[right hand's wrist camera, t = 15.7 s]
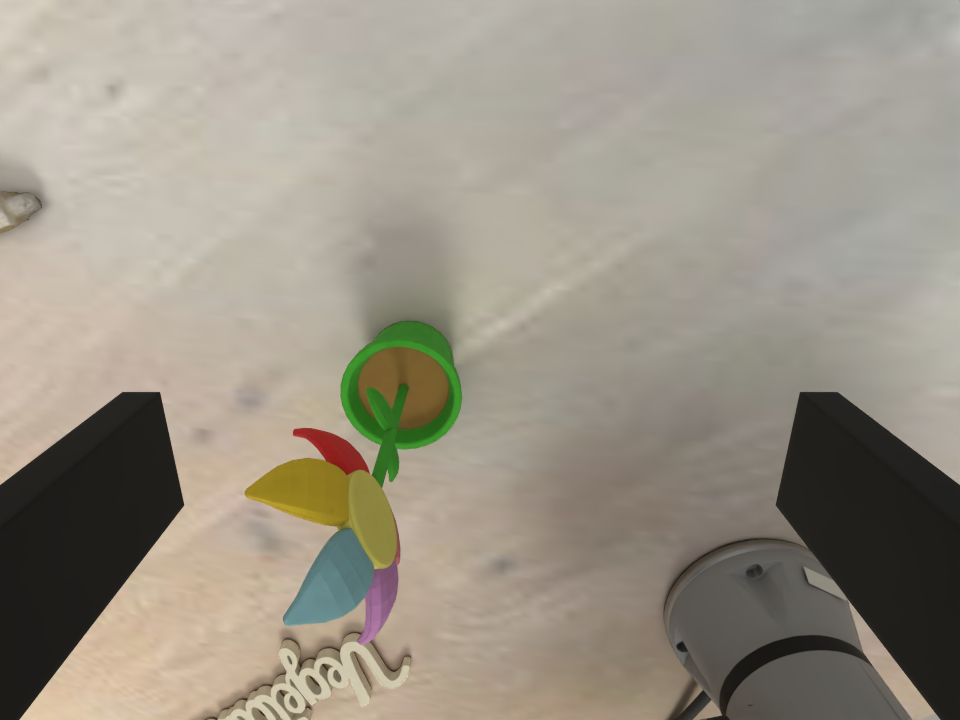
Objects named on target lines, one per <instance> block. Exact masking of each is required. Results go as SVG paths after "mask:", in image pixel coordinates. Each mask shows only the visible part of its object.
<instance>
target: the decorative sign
mask: <svg viewBox="0 0 960 720" xmlns="http://www.w3.org/2000/svg"><path fill="white" fill-rule="evenodd" d="M360 635H361V634H357V633H352V634H349V635H347V636H346V637H345V638H344V640H343V642H342V646H341V650H340V652H338V651H337V650H334V649H331V648H327V649H323V650H321V651H320V652H319V653H318V655H317V658H316V661H315V660H312V659H308V660H306V661H305V662H304V663H303V664H302V667H300V665H299V664H298V661H299V658H300V649H299V647H298V645H297V644H296V643H295V642H293V641H291V640H284V641H283V643H282V645H281V648H280V651H279V658H280V660H281V662H282V664H283V666H284V668H285V670H286V671H287V673H286V674H284V675H280V676H278V677H277V678H276V679H275V681H274V683H273V686H272V687H270V686H262V687H260V688H259V689H258V690H257V691H253V692H251V693H250V695H249V697H248V700H247V701H246V700H239V701H237V702H236V704H235V705H234V706H233V707H230V709H226V710H222V711H221V712H220V714H219V717H218V719H217V720H279V718H280V717H281V718H282V719H283V720H311V716H312V711H311V710H310V709H309V708H305V707H306V703H307V701H308V702H309V703H310V704H311V705H313V704H315V703H317V702H318V699H326V698H328V697H329V696H330V695H331V691H332V687H336V688H345V687H347V685H348V683H349V680H350V682H351V685H352V687H353V689H354V692H355V694H356V696H357V698H358V700H359V704H360V707H365V706H367V705H368V704H369V702H370V697H371V692H372V691H371V687H370V685H369V683H368V681H367V679H366V677H365V675H364V673H363V672H362V670H361V668H360V665H359V663H358V661H357V659H356V656H355V653H354V651H355V652H357V653H359V654H360V655H361V656H362V658H363V659H364V660H365V662H366V663H367V665H368V666H369V668H370V670H371V671H372V673H373V674H374V676H375V677H376V679H377V680H378V681H379V683H380V684H381V685H383V686H384V687H386V688H389V689H394V688H397V687H399V686H400V685H401V684H402V683H403V682H404V681H405V680H406V678H407V676H408V674H409V671H410V665H411V658H410V657H404V659H403V662H402V665H401V667H400V669H399V670H398V671H396V672H392V671H390V670H389V669H388V668H387V667H386V666H385V664H384V662H383V661H382V659H381V657H380V656H379V654H378V653H377V651H376V650H375V648H374V647H373V645H372V644H371V642H368V643H366V644H363V645H360V644H359V643H358V642H357V639H358V638H359V636H360ZM323 663H326V664H329V665H330V666H329V669H328V671H327V670H326V669H325V668H324V666H322V664H323ZM310 676H312V677H313V678H314V679H315V680H316V681H317V682H318V683H319V685H320V686H318V685H316V684H315V683H314V682H313V681H312V679H311V677H310ZM279 690H285V691H286V694H285V697H284V696H283V695H282V694H281V693H280V691H279ZM257 708H258V709H259V710H261V711H262V712H263V713H264V714H265V716H266V717H264V716H263V715H262V714H261V713H260V711H259V710H258V709H257ZM207 720H215V719H207Z"/></svg>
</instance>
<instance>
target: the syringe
mask: <svg viewBox="0 0 960 720" xmlns="http://www.w3.org/2000/svg"><path fill="white" fill-rule="evenodd" d="M41 207H42V204H41V201H40V200H39V199H38V198H37V197H36V196H34V195H33V194H31V193H22V194H19V193H17V192H5V191H0V233H2V232H4V231H8V230H10V229H12V228H14V227H15V226H17V225H19V224H20V223H22V222H23V221H26V220H29V219H28V218H29V216H30V215H31V214H32V213H34V212H36V211H38V210H39V209H41Z"/></svg>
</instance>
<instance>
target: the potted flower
mask: <svg viewBox="0 0 960 720" xmlns="http://www.w3.org/2000/svg"><path fill="white" fill-rule="evenodd" d="M341 400H342V405H343V409H344V411H345V413H346V415H347V418H348V419H349V420H350V422H351V423H352V425H353V426H354V427H355V428H356V429H357V430H358V431H359V432H360V433H361V434H362V435H363V436H365V437H366V438H368V439H369V440H371V441H373V442H375V443H377V444H379V445H381V447H380V450H379V454H378V457H377V460H376V464H375V467H374V470H373V473H372V475H371V474H370V473H369V470H368V467H367V465H366V463H365V461H364V460H363V458H362V456H361V455H360V453H359V452H358V451H357V450H356V449H355V448H354V447H353V446H352V445H351V444H350V443H349V442H348V441H346V440H344V439H342V438H340V437H339V436H337V435H334V434H332V433H329V432H325V431H321V430H317V429H312V428H300V429H294V431H293V436H297V437H302V438H306V439H307V440H309V441H310V442H311V443H312V444H313V445H314V446H315V447H316V448H317V449H318V450H319V451H320V453H321V454H322V455H323V457H324V458H325V460H326V461H325V460H319V459H312V458H304V459H298V460H292V461H289V462H287V463H284V464H282V465H280V466H277V467H276V468H274V469H273V470H271V471H270V472H268V473H267V474H265V475H264V476H263V477H261V478H260V479H259V480H258V481H256V482H255V483H254V484H252V485H251V486H250V487H249V488H247V489H246V491H245V496H246V497H247V498H249V499H252V500H256V501H259V502H262V503H265V504H267V505H269V506H272V507H274V508H276V509H278V510H281V511H283V512H285V513H288V514H290V515H293V516H296V517H299V518H302V519H305V520H308V521H311V522H315V523H318V524H322V525H326V526H337V529H338V532H336V533H335V534H334V535H333V536H332V537H331V538H330V539H329V540H328V542H327V543H326V544H325V546H324V547H323V549H322V550H321V552H320V553H319V555H318V556H317V558H316V560H315V561H314V563H313V565H312V567H311V568H310V570H309V572H308V574H307V576H306V578H305V580H304V582H303V584H302V586H301V588H300V590H299V592H298V594H297V596H296V598H295V599H294V601H293V603H292V604H291V606H290V607H289V609H288V610H287V612H286V613H285V615H284V617H283V621H284V624H285V625H287V626H292V625H304V624H315V623H325V622H328V621H331V620H334V619H337V618H340V617H343V616H344V615H346V614H347V613H349V612H350V611H352V610H353V609H355V608H356V607H357V606H358V605H359V603H360V602H361V601H362V600H363V599H364V597H365V598H366V620H365V628H364V631H363V632H362V633H361V635H360V636H359V638H358V639H357V642H358V643H359V644H360V645H363V644H366V643H368V642H370V641H371V640H373V639H374V638H375V636H376V635H377V633H378V632H379V631H380V629H381V628H382V627H383V625H384V623H385V622H386V620H387V618H388V616H389V614H390V612H391V609H392V607H393V605H394V602H395V600H396V595H397V588H398V570H397V565H398V564H399V562H400V542H399V534H398V529H397V525H396V520H395V518H394V515H393V512H392V510H391V507H390V505H389V502H388V500H387V498H386V495H385V493H384V491H383V490H382V486H383V483H384V479H385V475H386V471H387V469H388V473H389V481H390V482H392V481H393V480H394V478H395V477H396V475H397V473H398V469H399V457H398V453H397V449H414V448H419V447H422V446H426V445H428V444H430V443H433V442H435V441H437V440H438V439H439V438H441V437H442V436H443V435H445V434H446V433H447V432H448V430H449V429H450V428H451V427H452V426H453V424H454V423H455V421H456V419H457V417H458V415H459V411H460V408H461V401H462V392H461V385H460V380H459V376H458V374H457V371H456V368H455V367H454V362H453V355H452V351H451V348H450V346H449V344H448V342H447V341H446V339H445V338H444V337H443V336H442V334H441V333H440V332H438V331H437V330H436V329H434V328H433V327H431V326H429V325H427V324H424V323H420V322H414V321H405V322H399V323H396V324H393V325H391V326H389V327H387V328H386V329H384V330H383V331H382V332H381V333H380V334H379V335H378V336H377V337H376V338H375V339H374V340H373V342H372V343H370V344H368V345H367V346H365V347H364V348H363V349H362V350H361V351H359V353H358V354H357V355H356V356H355V357H354V358H353V360H352V361H351V362H350V363H349V365H348V366H347V369H346V371H345V373H344V375H343V379H342V383H341Z"/></svg>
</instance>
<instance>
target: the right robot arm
mask: <svg viewBox="0 0 960 720" xmlns="http://www.w3.org/2000/svg"><path fill="white" fill-rule="evenodd" d="M183 506H184V502H183V497H182V492H181V488H180V483H179V479H178V474H177V469H176V465H175V460H174V455H173V451H172V446H171V441H170V437H169V432H168V427H167V423H166V418H165V413H164V409H163V404H162V399H161V395H160V392H122V393H121V394H120V395H118V396H117V397H116V398H114V399H113V400H112V401H110V402H109V403H108V404H106V405H105V406H104V407H102V408H101V409H100V410H98V411H97V412H96V413H95V414H93V415H92V416H91V417H89V418H88V419H87V420H85V421H84V422H83V423H81V424H80V425H79V426H77V427H76V428H75V429H73V430H72V431H71V432H70V433H68V434H67V435H66V436H64V437H63V438H62V439H60V440H59V441H58V442H56V443H55V444H54V445H52V446H51V447H50V448H48V449H47V450H46V451H45V452H43V453H42V454H41V455H39V456H38V457H37V458H35V459H34V460H33V461H31V462H30V463H29V464H27V465H26V466H25V467H23V468H22V469H21V470H20V471H18V472H17V473H16V474H14V475H13V476H12V477H10V478H9V479H8V480H6V481H5V482H4V483H2V484H1V485H0V720H19V719H20V718H21V717H22V716H23V714H24V713H25V712H26V710H27V709H28V708H29V706H30V705H31V704H32V703H33V701H34V700H35V699H36V697H37V696H38V695H39V693H40V692H41V691H42V690H43V688H44V687H45V686H46V684H47V683H48V682H49V680H50V679H51V678H52V677H53V675H54V674H55V673H56V671H57V670H58V669H59V667H60V666H61V665H62V664H63V662H64V661H65V660H66V658H67V657H68V656H69V654H70V653H71V652H72V651H73V649H74V648H75V647H76V645H77V644H78V643H79V641H80V640H81V639H82V638H83V636H84V635H85V634H86V632H87V631H88V630H89V628H90V627H91V626H92V625H93V623H94V622H95V621H96V619H97V618H98V617H99V615H100V614H101V613H102V612H103V610H104V609H105V608H106V606H107V605H108V604H109V602H110V601H111V600H112V599H113V597H114V596H115V595H116V593H117V592H118V591H119V589H120V588H121V587H122V586H123V584H124V583H125V582H126V580H127V579H128V578H129V576H130V575H131V574H132V573H133V571H134V570H135V569H136V567H137V566H138V565H139V563H140V562H141V561H142V560H143V558H144V557H145V556H146V554H147V553H148V552H149V550H150V549H151V548H152V547H153V545H154V544H155V543H156V541H157V540H158V539H159V537H160V536H161V535H162V533H163V532H164V531H165V530H166V528H167V527H168V526H169V524H170V523H171V522H172V520H173V519H174V518H175V517H176V515H177V514H178V513H179V511H180V510H181V509H182V507H183ZM776 506H777V507H778V509H779V510H780V511H781V513H782V514H783V515H784V517H785V518H786V519H787V520H788V522H789V523H790V524H791V526H792V527H793V528H794V530H795V531H796V532H797V533H798V535H799V536H800V537H801V539H802V540H803V541H804V543H805V544H806V545H807V547H808V548H809V549H810V550H811V551H810V550H808V549H806V548H804V547H802V546H799V545H796V544H794V543H790V542H786V541H780V540H770V539H759V540H749V541H743V542H738V543H734V544H731V545H728V546H725V547H722V548H720V549H717V550H715V551H713V552H711V553H709V554H707V555H706V556H704V557H702V558H701V559H699V560H698V561H696V562H695V563H694V564H692V565H691V566H690V567H689V568H688V569H687V570H686V571H685V572H684V573H683V574H682V575H681V576H680V577H679V579H678V580H677V581H676V583H675V584H674V586H673V587H672V589H671V591H670V593H669V595H668V598H667V601H666V605H665V610H664V624H665V629H666V632H667V635H668V638H669V641H670V643H671V646H672V648H673V650H674V652H675V654H676V655H677V657H678V659H679V661H680V662H681V664H682V665H683V666H684V667H685V669H686V670H687V671H688V672H689V673H690V675H691V676H692V677H693V678H694V679H695V680H696V682H697V683H698V684H699V685H700V686H701V688H702V689H703V691H702V692H701V693H700V694H699V695H698V696H697V697H696V698H695V700H694V701H693V702H692V703H691V704H690V705H689V706H688V707H687V708H686V709H685V710H684V711H683V712H682V714H681V715H680V716H679V717H678V718H677V719H676V720H693V719H694V718H695V717H696V715H697V714H698V713H699V712H700V711H701V710H702V709H703V708H704V707H705V706H706V705H707V704H708V703H709V702H710V701H711V700H712V701H713V702H714V703H715V704H716V705H717V707H718V708H719V709H720V711H721V714H722V716H718V717H713V718H708V719H701V720H912V719H911V717H910V716H909V715H908V713H907V712H906V711H905V709H904V708H903V706H902V705H901V704H900V702H899V701H898V700H897V698H896V697H895V696H894V694H893V693H892V691H891V690H890V689H889V687H888V686H887V685H886V683H885V682H884V680H883V679H882V678H881V676H880V675H879V674H878V672H877V671H876V670H875V668H874V667H873V666H872V664H871V663H870V661H869V660H868V659H867V657H866V656H865V654H864V653H863V651H862V647H861V644H860V640H859V637H858V633H857V630H856V626H855V623H854V620H853V617H852V614H851V610H850V607H849V603H848V600H849V601H850V602H851V604H852V605H853V606H854V608H855V609H856V610H857V612H858V613H859V614H860V615H861V617H862V618H863V619H864V621H865V622H866V623H867V625H868V626H869V627H870V628H871V630H872V631H873V632H874V634H875V635H876V636H877V638H878V639H879V640H880V641H881V643H882V644H883V645H884V647H885V648H886V649H887V651H888V652H889V653H890V654H891V656H892V657H893V658H894V660H895V661H896V662H897V664H898V665H899V666H900V667H901V669H902V670H903V671H904V673H905V674H906V675H907V677H908V678H909V679H910V680H911V682H912V683H913V684H914V686H915V687H916V688H917V690H918V691H919V692H920V693H921V695H922V696H923V697H924V699H925V700H926V701H927V703H928V704H929V705H930V706H931V708H932V709H933V710H934V712H935V713H936V714H937V716H938V717H939V718H940V719H941V720H960V485H959V484H958V483H956V482H955V481H954V480H952V479H951V478H950V477H948V476H947V475H946V474H944V473H943V472H942V471H940V470H939V469H938V468H937V467H935V466H934V465H933V464H931V463H930V462H929V461H927V460H926V459H925V458H923V457H922V456H921V455H919V454H918V453H917V452H915V451H914V450H913V449H912V448H910V447H909V446H908V445H906V444H905V443H904V442H902V441H901V440H900V439H898V438H897V437H896V436H894V435H893V434H892V433H890V432H889V431H888V430H887V429H885V428H884V427H883V426H881V425H880V424H879V423H877V422H876V421H875V420H873V419H872V418H871V417H869V416H868V415H867V414H865V413H864V412H863V411H862V410H860V409H859V408H858V407H856V406H855V405H854V404H852V403H851V402H850V401H848V400H847V399H846V398H844V397H843V396H842V395H840V394H839V393H838V392H800V395H799V399H798V404H797V409H796V413H795V418H794V423H793V427H792V432H791V437H790V441H789V446H788V451H787V455H786V460H785V465H784V469H783V474H782V479H781V483H780V488H779V492H778V497H777V502H776ZM847 599H848V600H847Z"/></svg>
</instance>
